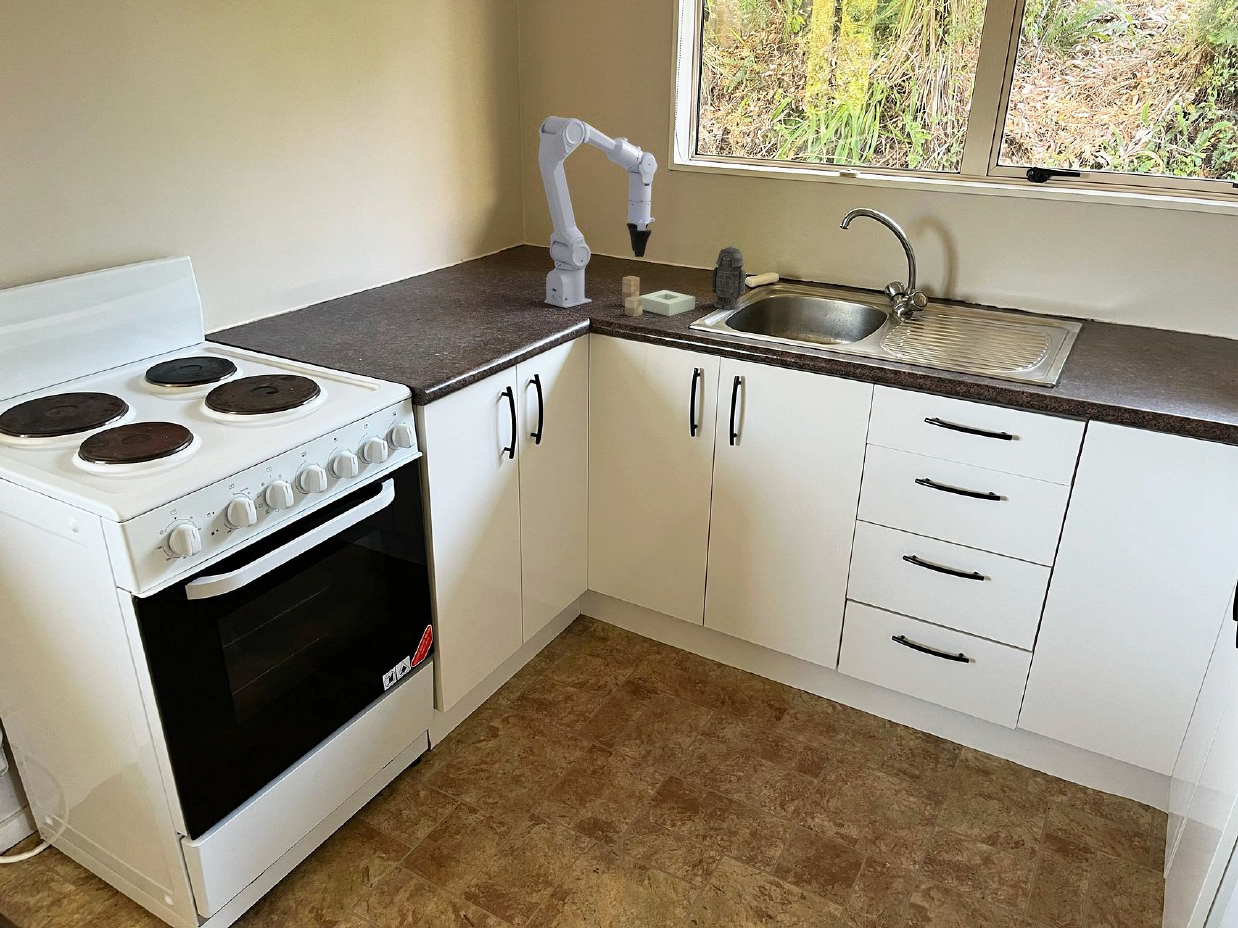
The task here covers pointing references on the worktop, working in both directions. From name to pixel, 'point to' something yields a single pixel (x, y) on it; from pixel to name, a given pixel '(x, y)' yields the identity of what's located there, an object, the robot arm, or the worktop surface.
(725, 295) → the toy
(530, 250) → the worktop surface
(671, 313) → the socket
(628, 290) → the long pin
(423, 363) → the worktop surface
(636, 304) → the short pin
